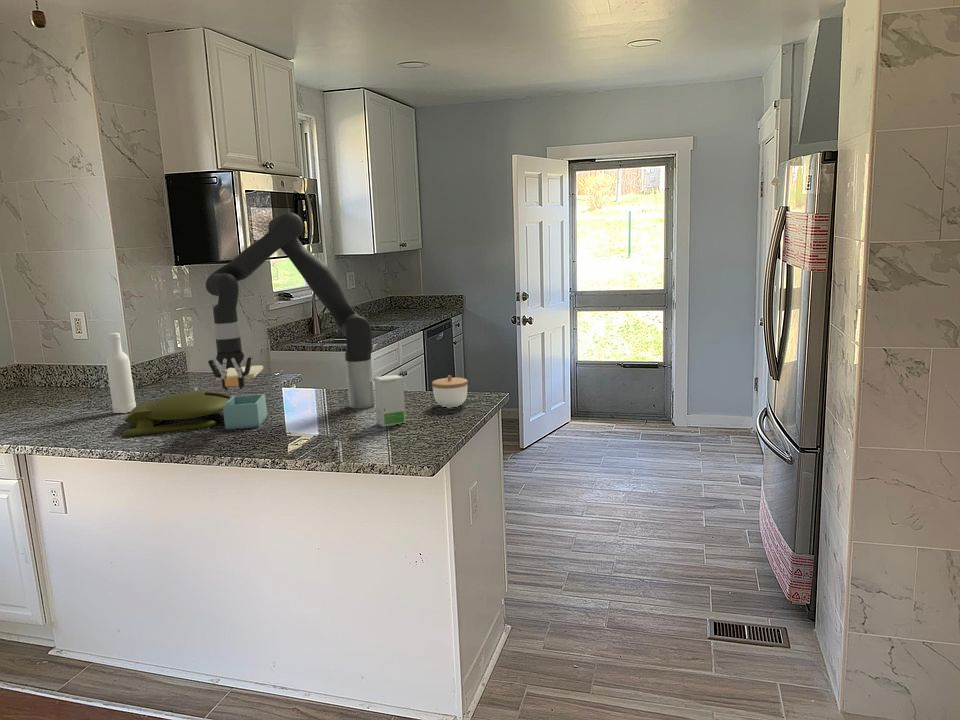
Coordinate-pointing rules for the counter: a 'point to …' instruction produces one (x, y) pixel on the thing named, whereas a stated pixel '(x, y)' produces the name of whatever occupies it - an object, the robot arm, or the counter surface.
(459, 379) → the lidded bowl
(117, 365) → the bottle
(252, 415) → the tub
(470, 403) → the counter surface
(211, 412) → the spaceship
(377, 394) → the skincare box
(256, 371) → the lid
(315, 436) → the counter surface
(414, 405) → the counter surface
